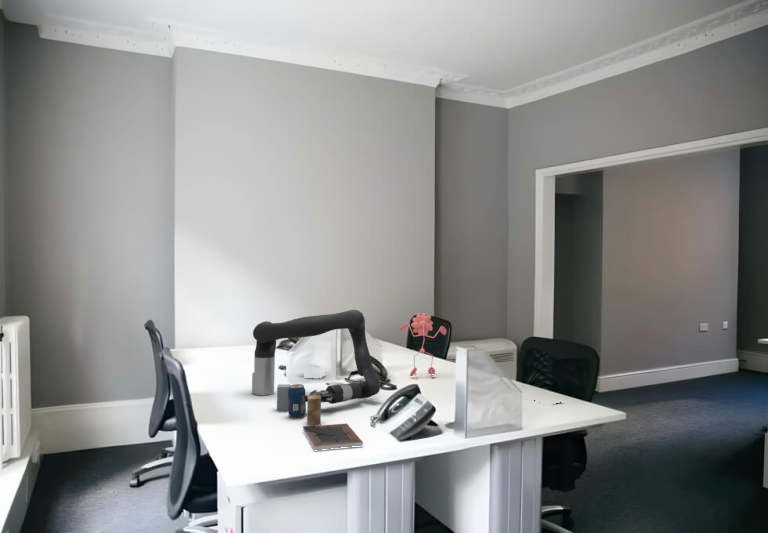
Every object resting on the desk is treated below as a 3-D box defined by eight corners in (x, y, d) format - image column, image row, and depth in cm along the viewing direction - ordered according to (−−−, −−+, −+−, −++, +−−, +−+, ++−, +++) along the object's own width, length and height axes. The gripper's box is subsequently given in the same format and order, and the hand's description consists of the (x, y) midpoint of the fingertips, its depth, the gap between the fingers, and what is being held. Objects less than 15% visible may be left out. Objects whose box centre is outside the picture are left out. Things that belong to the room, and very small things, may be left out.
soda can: (290, 413, 220) (289, 383, 219) (307, 412, 220) (306, 383, 219) (286, 418, 213) (286, 388, 212) (304, 418, 213) (303, 388, 212)
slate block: (276, 411, 222) (277, 387, 222) (277, 408, 227) (277, 384, 227) (289, 411, 223) (289, 387, 223) (289, 408, 228) (289, 384, 228)
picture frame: (302, 433, 197) (314, 453, 177) (303, 426, 197) (314, 445, 177) (346, 429, 203) (362, 448, 182) (346, 422, 203) (362, 441, 182)
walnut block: (307, 425, 205) (307, 398, 205) (307, 421, 210) (307, 395, 210) (320, 424, 206) (321, 398, 206) (320, 421, 211) (320, 395, 210)
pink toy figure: (448, 379, 291) (448, 314, 291) (401, 380, 286) (402, 314, 286) (439, 373, 306) (440, 311, 306) (394, 375, 301) (395, 312, 301)
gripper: (330, 381, 235) (295, 386, 223) (348, 387, 225) (313, 393, 213) (329, 398, 235) (295, 404, 223) (348, 405, 225) (312, 412, 213)
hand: (304, 399), depth 218 cm, fingers closed
